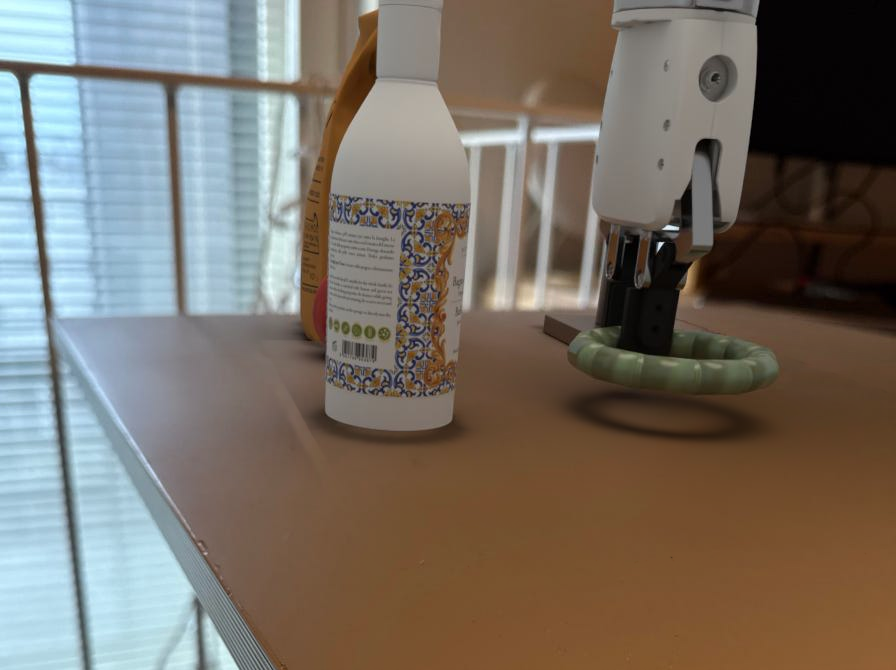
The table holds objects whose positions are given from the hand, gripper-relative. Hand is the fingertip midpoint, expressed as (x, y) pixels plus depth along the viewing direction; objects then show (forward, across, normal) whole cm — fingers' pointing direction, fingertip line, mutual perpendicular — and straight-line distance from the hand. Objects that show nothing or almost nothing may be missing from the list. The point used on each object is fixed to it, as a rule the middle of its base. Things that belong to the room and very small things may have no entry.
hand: (633, 350), depth 59 cm
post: (+4, +23, -10) cm, 25 cm away
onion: (+4, +10, +16) cm, 19 cm away
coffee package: (+4, +22, +12) cm, 26 cm away
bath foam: (+3, -5, +16) cm, 18 cm away
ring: (-1, -5, 0) cm, 5 cm away
